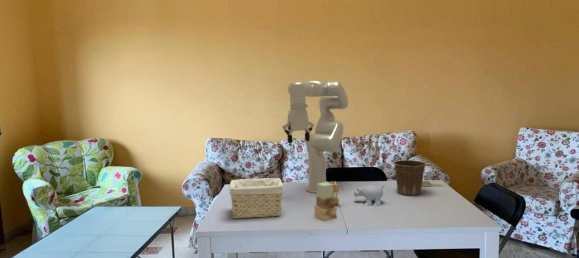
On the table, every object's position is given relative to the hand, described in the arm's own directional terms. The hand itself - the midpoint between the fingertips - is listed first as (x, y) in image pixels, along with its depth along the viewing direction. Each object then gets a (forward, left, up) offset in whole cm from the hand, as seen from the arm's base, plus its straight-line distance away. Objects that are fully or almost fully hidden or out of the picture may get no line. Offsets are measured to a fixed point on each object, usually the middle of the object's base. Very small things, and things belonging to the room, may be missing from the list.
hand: (298, 141), depth 193 cm
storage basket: (+26, +5, -31) cm, 40 cm away
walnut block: (+2, +26, -26) cm, 37 cm away
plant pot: (-56, +19, -31) cm, 67 cm away
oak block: (+2, +26, -30) cm, 40 cm away
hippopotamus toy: (-28, +20, -31) cm, 46 cm away
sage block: (+2, +26, -21) cm, 34 cm away
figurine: (-11, +15, -31) cm, 36 cm away
